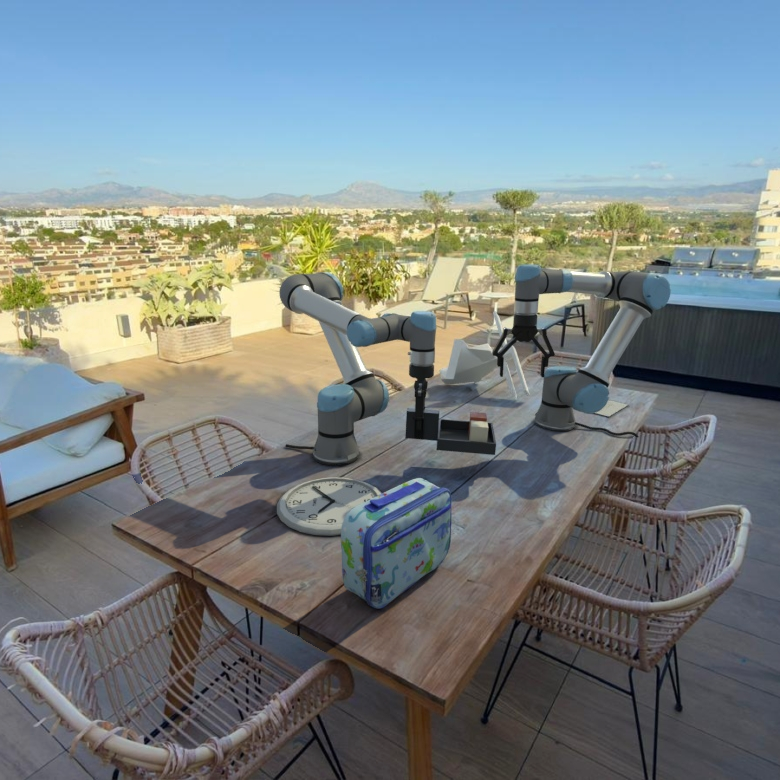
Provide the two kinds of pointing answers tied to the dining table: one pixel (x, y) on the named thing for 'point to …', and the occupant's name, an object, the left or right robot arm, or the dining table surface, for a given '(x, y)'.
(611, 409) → the invitation card
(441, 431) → the tray
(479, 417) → the terracotta block
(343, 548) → the lunch box
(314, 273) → the left robot arm
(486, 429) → the cream block
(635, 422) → the dining table surface
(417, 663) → the dining table surface
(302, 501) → the wall clock
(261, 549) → the dining table surface
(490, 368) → the white plastic object
